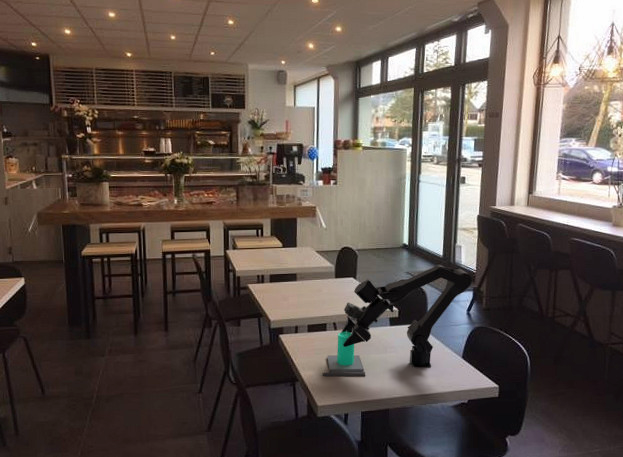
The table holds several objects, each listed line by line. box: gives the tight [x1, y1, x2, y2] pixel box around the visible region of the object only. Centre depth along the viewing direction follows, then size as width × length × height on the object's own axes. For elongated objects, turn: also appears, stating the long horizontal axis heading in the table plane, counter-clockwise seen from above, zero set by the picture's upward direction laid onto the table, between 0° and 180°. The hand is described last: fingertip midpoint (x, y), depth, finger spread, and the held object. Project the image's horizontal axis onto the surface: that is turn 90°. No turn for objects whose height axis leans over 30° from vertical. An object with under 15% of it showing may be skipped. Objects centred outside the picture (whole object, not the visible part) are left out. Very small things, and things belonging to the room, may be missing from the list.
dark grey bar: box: [322, 371, 366, 377], centre depth 190 cm, size 15×1×1 cm, turn 93°
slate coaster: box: [326, 354, 365, 372], centre depth 199 cm, size 12×12×1 cm
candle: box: [337, 330, 355, 365], centre depth 198 cm, size 6×6×12 cm
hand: (341, 341), depth 197 cm, fingers open, 9 cm apart
